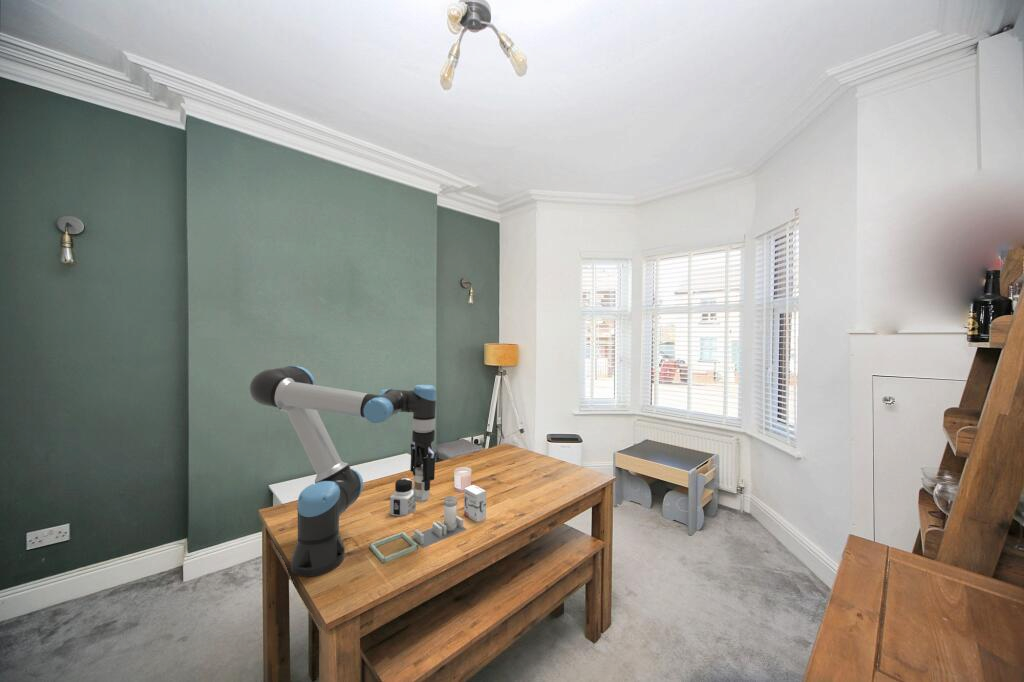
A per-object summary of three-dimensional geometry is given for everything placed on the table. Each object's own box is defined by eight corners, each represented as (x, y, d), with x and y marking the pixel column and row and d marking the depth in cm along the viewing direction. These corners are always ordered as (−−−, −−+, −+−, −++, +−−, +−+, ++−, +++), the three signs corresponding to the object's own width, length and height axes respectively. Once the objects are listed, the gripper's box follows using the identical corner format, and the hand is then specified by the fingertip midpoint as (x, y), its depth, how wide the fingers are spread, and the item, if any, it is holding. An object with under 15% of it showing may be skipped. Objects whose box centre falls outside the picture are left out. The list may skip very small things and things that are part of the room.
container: (407, 517, 146) (408, 485, 146) (389, 515, 147) (390, 483, 147) (416, 508, 153) (416, 477, 153) (399, 506, 155) (399, 475, 155)
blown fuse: (418, 503, 126) (419, 471, 125) (411, 498, 129) (412, 467, 129) (430, 499, 129) (432, 468, 129) (423, 495, 132) (424, 464, 132)
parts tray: (383, 566, 116) (383, 559, 115) (369, 550, 124) (369, 544, 124) (418, 551, 124) (418, 545, 124) (403, 537, 132) (403, 531, 132)
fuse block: (423, 550, 124) (423, 538, 124) (410, 539, 131) (410, 528, 131) (467, 532, 136) (467, 521, 136) (453, 522, 143) (453, 512, 143)
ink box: (463, 516, 147) (463, 487, 147) (472, 512, 151) (473, 483, 151) (476, 525, 141) (477, 494, 141) (486, 520, 145) (487, 490, 145)
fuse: (447, 533, 133) (448, 503, 133) (440, 528, 137) (441, 498, 137) (459, 528, 136) (459, 499, 136) (451, 523, 140) (452, 495, 140)
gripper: (447, 434, 125) (444, 502, 125) (420, 423, 137) (418, 484, 138) (427, 437, 119) (424, 508, 120) (401, 425, 132) (399, 490, 133)
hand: (421, 495), depth 129 cm, fingers closed on blown fuse, 5 cm apart
